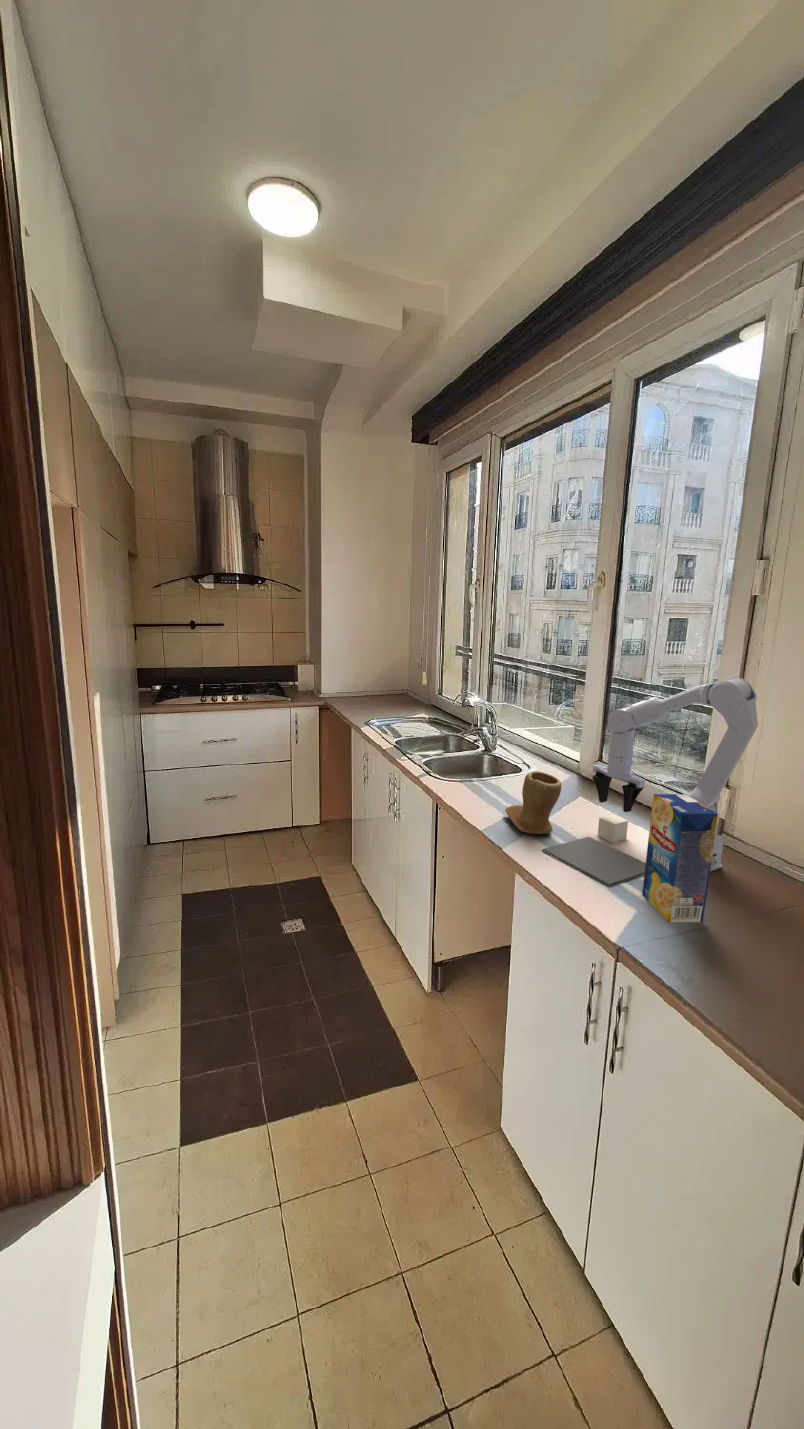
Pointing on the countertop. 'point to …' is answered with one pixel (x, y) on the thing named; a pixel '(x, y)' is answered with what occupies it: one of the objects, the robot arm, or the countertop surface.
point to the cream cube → (612, 828)
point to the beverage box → (679, 857)
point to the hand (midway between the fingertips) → (614, 806)
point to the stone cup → (536, 803)
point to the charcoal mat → (598, 860)
